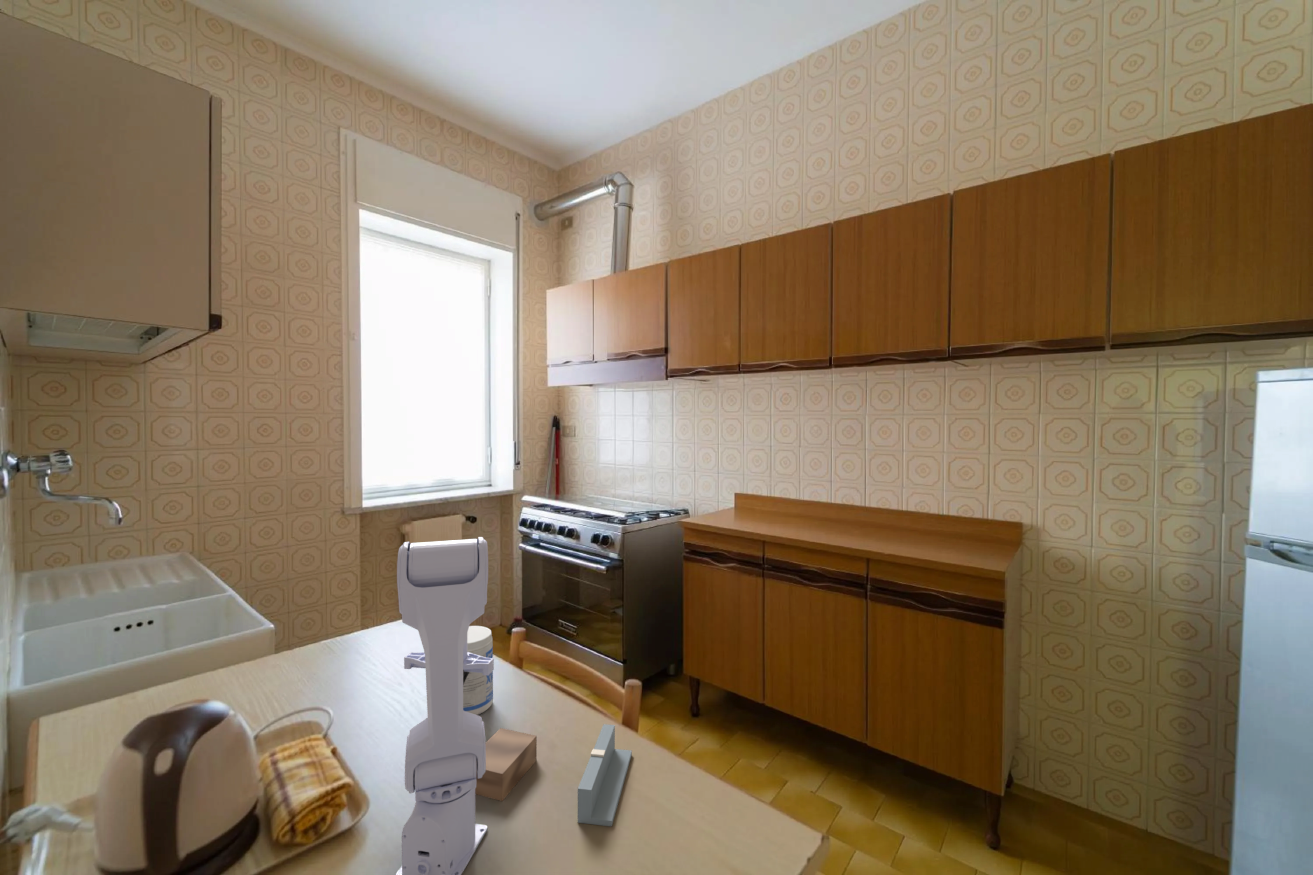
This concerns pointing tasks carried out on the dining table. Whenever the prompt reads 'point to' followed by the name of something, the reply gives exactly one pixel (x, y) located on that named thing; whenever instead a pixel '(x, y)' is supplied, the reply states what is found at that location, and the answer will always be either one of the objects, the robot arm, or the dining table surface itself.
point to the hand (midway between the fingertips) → (449, 712)
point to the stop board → (603, 780)
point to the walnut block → (506, 762)
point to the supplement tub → (477, 684)
